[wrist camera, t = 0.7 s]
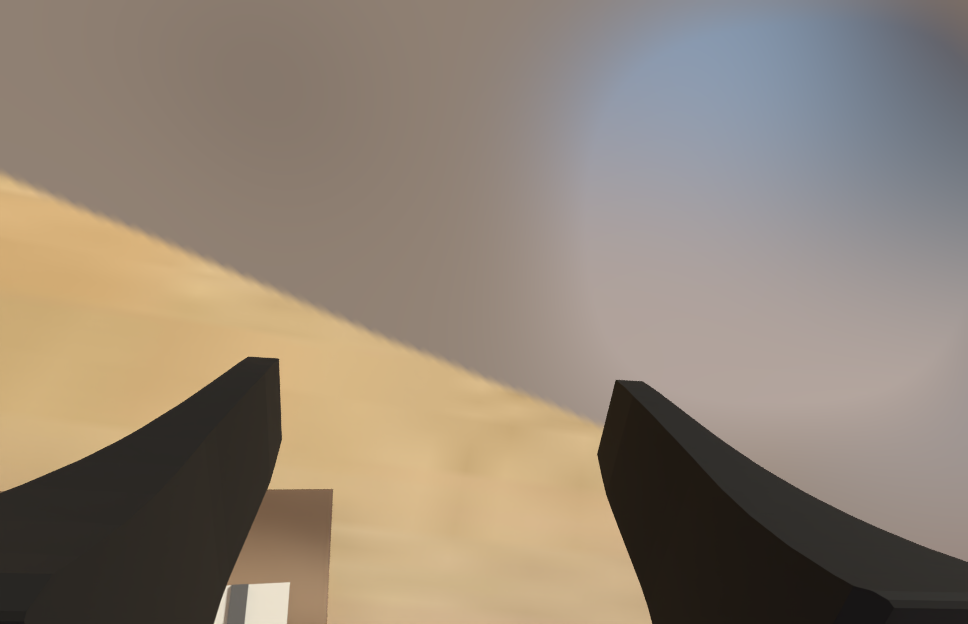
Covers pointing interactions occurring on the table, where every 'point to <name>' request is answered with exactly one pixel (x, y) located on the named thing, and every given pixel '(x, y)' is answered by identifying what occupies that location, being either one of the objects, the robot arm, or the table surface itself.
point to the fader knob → (254, 604)
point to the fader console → (291, 550)
